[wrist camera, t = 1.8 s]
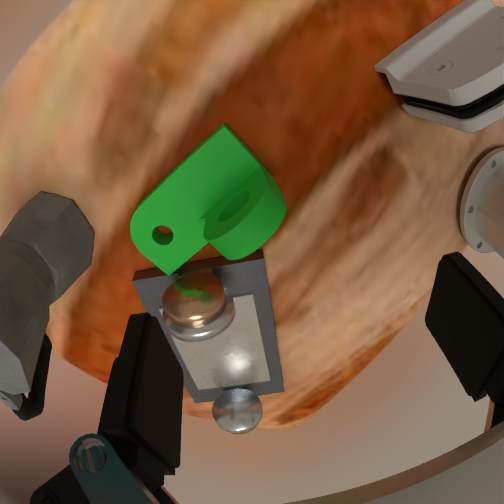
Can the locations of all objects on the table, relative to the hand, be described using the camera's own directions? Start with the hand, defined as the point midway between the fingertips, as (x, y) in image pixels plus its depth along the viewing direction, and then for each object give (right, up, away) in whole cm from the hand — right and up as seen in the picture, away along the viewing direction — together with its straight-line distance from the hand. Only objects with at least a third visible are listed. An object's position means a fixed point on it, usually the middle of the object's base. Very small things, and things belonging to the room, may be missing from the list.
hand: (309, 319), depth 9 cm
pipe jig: (-5, -7, +24) cm, 26 cm away
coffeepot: (-20, +3, +16) cm, 26 cm away
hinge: (+15, +21, +9) cm, 27 cm away
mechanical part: (-7, +7, +16) cm, 18 cm away
